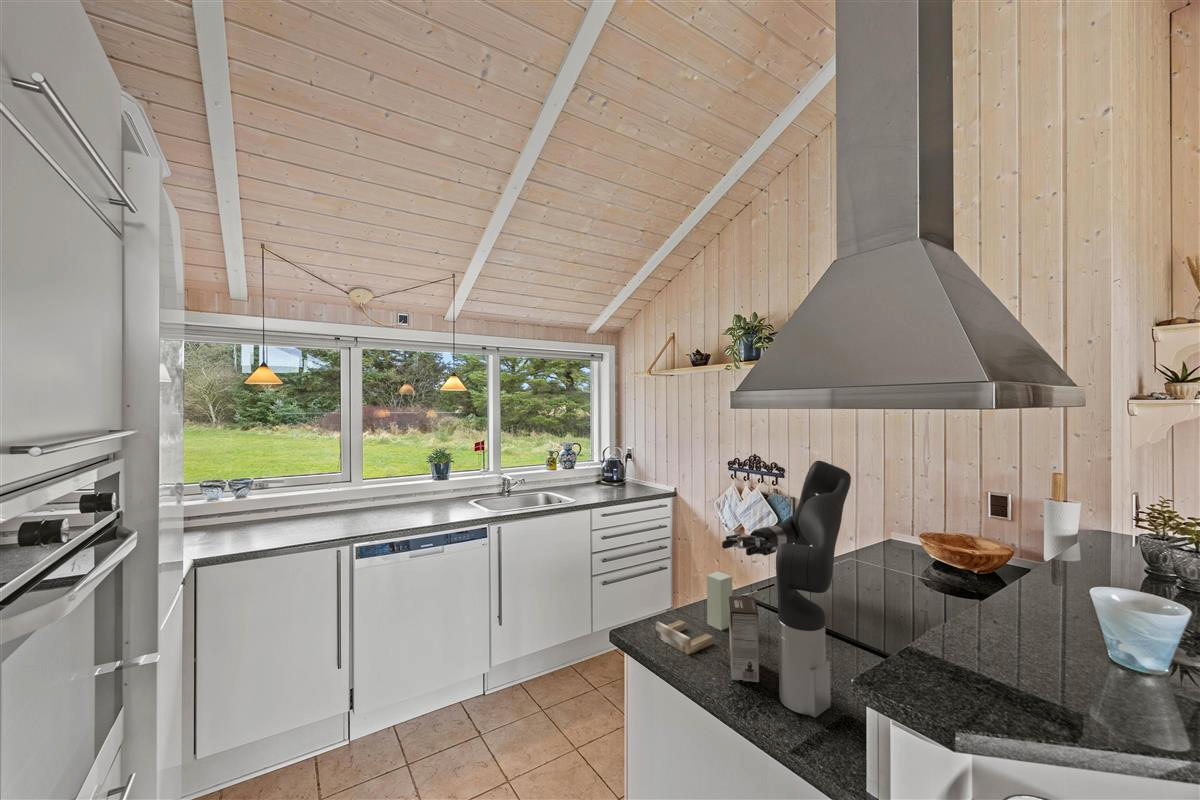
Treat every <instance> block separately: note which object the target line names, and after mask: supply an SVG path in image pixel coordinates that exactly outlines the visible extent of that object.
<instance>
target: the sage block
mask: <svg viewBox="0 0 1200 800" xmlns="http://www.w3.org/2000/svg"><path fill="white" fill-rule="evenodd" d="M729 596H733V576H732V575H730V574H727V573H724V572H721V571H715V572H713V573H709V574H706V610H707V612H706V614H707V616H706V617H707V618H706V619H707V621H706V622H707V623H706V624H707V625H709V626H711V627H713V628H715V629H717V630H719V631H723V630H726V629H729Z"/></svg>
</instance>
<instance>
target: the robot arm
mask: <svg viewBox="0 0 1200 800" xmlns="http://www.w3.org/2000/svg"><path fill="white" fill-rule="evenodd" d="M851 483H852V477H851V474H850V472H848V471H847V470H845V469H844V468H841V467H838V466H836V465H833V464H830V463H829V462H826V461H823V460H815V461H814V462H813V463H812V464H811V465H810V468H809V469H808V471H807V474H806V476H805V479H804V482H803V486H802V488H801V494H800V498H799V503H798V505H797V507H796V509H795V511H794V513H793V514H792V515H790V516H789V517H787V518H785V519H784V521H782V522H781V523H779V524H776V525H768V526H763V527H760V528H756V529H754V530H752V532H750V534H749V535H741V534H740V533H738V534H737V533H736V534H731V535H727V536H725V540H722V542H721V548H722V549H723V550H724V549H725V550H726V549H729V548H737V549H741V550H742V549H745V555H746V556H749V557H750V556H753V555H763V556H768V555H771V554H774V553H776V554H775V576H776V586H777V587H776V588H777V589H776V590H777V612H778V614H777V616H778V617H777V618H778V683H779V684H778V688H779V690H778V691H779V692H778V693H779V700H780V702H781V704H782V705H784V706H785V707H786V708H787V709H789V710H791V711H792V712H795V713H797V714H801V715H807V716H810V717H813V718H817V717H819V716H820V715H821V714H822V713H824V712H825V711H826V710H828V709H830V708H831V662H830V661H829V660H827V659H826V658H827V657H826V655H827V654H826V614H825V610H823V608H822V607H821V606H820V605H818V604H817V603H816V602H813V600H810V599H808V598H806V597H805V596H803V594H802V593H800V592H799V591H802V592H809V593H814V594H824V593H826V592H827V591H828V590H829V588H830V586H831V584H832V580H833V573H834V563H835V550H836V545H837V540H838V536H839V533H840V529H841V525H842V521H843V519H842V517H843V513H844V512H843V511H844V506H845V501H846V499H847V496H848V493H849V490H850V487H851ZM741 542H742V545H741Z"/></svg>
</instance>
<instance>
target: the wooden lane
mask: <svg viewBox="0 0 1200 800" xmlns="http://www.w3.org/2000/svg"><path fill="white" fill-rule="evenodd" d="M685 630H686V622H685V621H683V620H681V619H679V620H676V621H674V622H672V623H671V622H670V623H669V624H667V625H666V624H664V623H663V622H660V621H659V620H658V621H655V637H656V638H657V639H659V640H660V639H661V641H662V640H663V641H662V642H664V643H666V644H667V643H668V644H667V645H670V646H671V647H672V648H674V649H677V650H678V651H680V652H682V653H683V652H684V654H685V655H688V656H690V655H692V654H694V653H697V652H699V651H701V650H703V649H705V648H706V647H707V648H708V647H709V646H712V645H713V644H714V636H713V635H711V634H709V633H705V634H702V635H700V636H698V637H696V638H693V639H691V637H690V636H687V635H685V634H683V633H682V632H683V631H685ZM700 649H701V650H700ZM698 650H699V651H698ZM691 653H692V654H691ZM689 654H690V655H689Z"/></svg>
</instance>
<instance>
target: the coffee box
mask: <svg viewBox="0 0 1200 800" xmlns="http://www.w3.org/2000/svg"><path fill="white" fill-rule="evenodd" d="M758 609H759V608H758V604H757V599H756V597H754V596H733V595H732V596H729V627H728V629H729V631H728V632H729V634H728V636H729V661H730V673H731V674H730V675H731V680H732V681H739V680H743V681H742V682H750V681H751V682H753V683H760V650H759V647H760V646H759V645H760V643H759V642H760V638H759V636H760V635H759V634H760V633H759V632H760V629H759V627H760V626H759V625H760V624H759V622H760V621H759V619H760V618H759V610H758ZM751 682H750V683H751Z"/></svg>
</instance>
